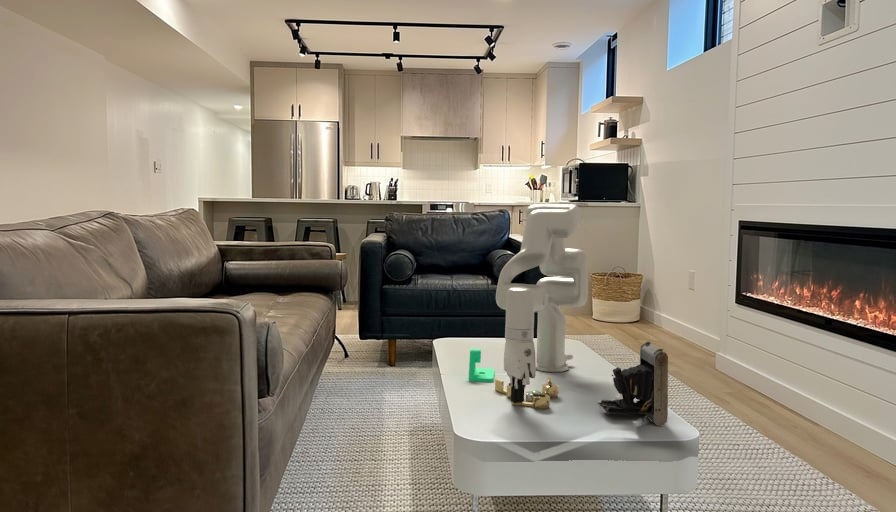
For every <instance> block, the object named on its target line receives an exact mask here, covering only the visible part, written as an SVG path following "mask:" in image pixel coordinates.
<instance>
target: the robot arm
mask: <svg viewBox="0 0 896 512" xmlns="http://www.w3.org/2000/svg"><path fill="white" fill-rule="evenodd" d="M525 218H526V221H525V225H524V231H523V235H522V241H521V244H520V251H519V252H518V253H516V254H515V255H513V257H512V258H510V259H509V260H508V261H507V263H505V265H504V266H503V268H502V269H501V271H500V273H499V276H498V282H497V287H496V290H495V291H496V292H495V301H496V302H495V303H496V304H497V307H499V308H500V309H501V310H505V328H504V330H505V331H504V340H505V344H504V350H503V352H504V354H503V371H504V372H505V373H506V376H508V377H509V383H510V385H511V386H513V387H511V399H510V402H511V403H512V402H513V403H521V402H525V389H526V386H529V385H530V384H531V381H530V379H535V378H536V373H537V371H540V372H541V371H542V372H548V373H563V372H565V371H567V370H569V366H570V365H569V364H568V363H567V361H570V360H571V361H572V360H573V358H574V355H573V354H572V353H570V354H565V350H566V349H565V346H566V316H565V313H564V312H563V310H562V309H561V308H560V307H561V306H564V307H576V308H577V307H583V306H585V305H586V304H587V302H588V295H589V277H588V275H589V274H588V272H589V271H588V257H587V254H586V252H585V251H584V250H582V249H580V248H568V247H567V248H566V247H565V239H571V238H572V237H573V236H575V234H576V233H577V232H578V230H579V229H580V226H581V224H582V218H583V217H582V211H581V208H580V207H579V206H578V205H575V204H555V203H554V204H553V203H543V204H542V203H540V204H537V203H536V204H531V205H529V206H527V208H526V210H525ZM536 267H539V271H540V273H541V274H543V275H545V276H547V277H543V278H540V279H539V280H538V281H537V282H536V284H528V283H527V284H526V283H517V282H516V283H515V282H514V283H512V281H513V279H514V278H516V276H518V275H519V274H521V273H523V272H525V271H528V270H530V269H534V268H536ZM535 313H537V327H536V328H537V329H536V335H537V336H536V348H535V342H534V337H535V336H534V333H535V330H534V328H535ZM535 349H536V350H535Z"/></svg>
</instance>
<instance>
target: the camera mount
mask: <svg viewBox="0 0 896 512" xmlns="http://www.w3.org/2000/svg"><path fill="white" fill-rule="evenodd" d="M469 350H470V351H469V363H468V364H469V369H468V382H480V383H481V382H483V383H492V382H495V379H494V378H495V368H491V367H490V368H489V367H487V368H486V367H477V365H476V364H480V363H481V360H482V359H481V358H482V353H481V352H482V349H481V348H470V349H469Z"/></svg>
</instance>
